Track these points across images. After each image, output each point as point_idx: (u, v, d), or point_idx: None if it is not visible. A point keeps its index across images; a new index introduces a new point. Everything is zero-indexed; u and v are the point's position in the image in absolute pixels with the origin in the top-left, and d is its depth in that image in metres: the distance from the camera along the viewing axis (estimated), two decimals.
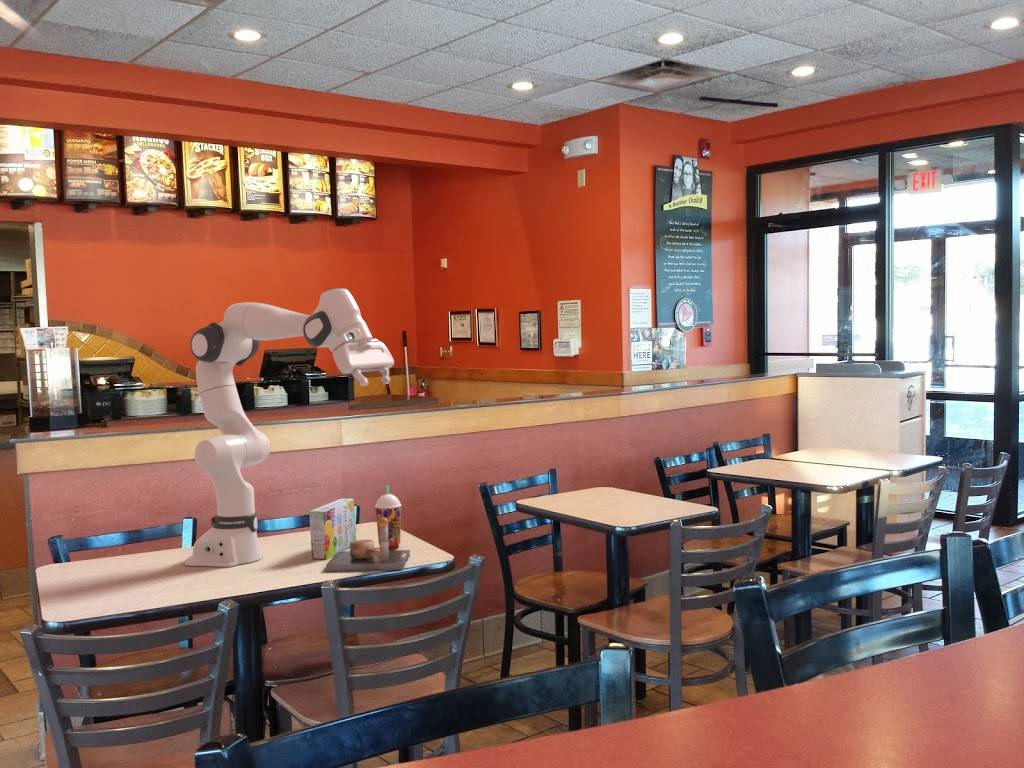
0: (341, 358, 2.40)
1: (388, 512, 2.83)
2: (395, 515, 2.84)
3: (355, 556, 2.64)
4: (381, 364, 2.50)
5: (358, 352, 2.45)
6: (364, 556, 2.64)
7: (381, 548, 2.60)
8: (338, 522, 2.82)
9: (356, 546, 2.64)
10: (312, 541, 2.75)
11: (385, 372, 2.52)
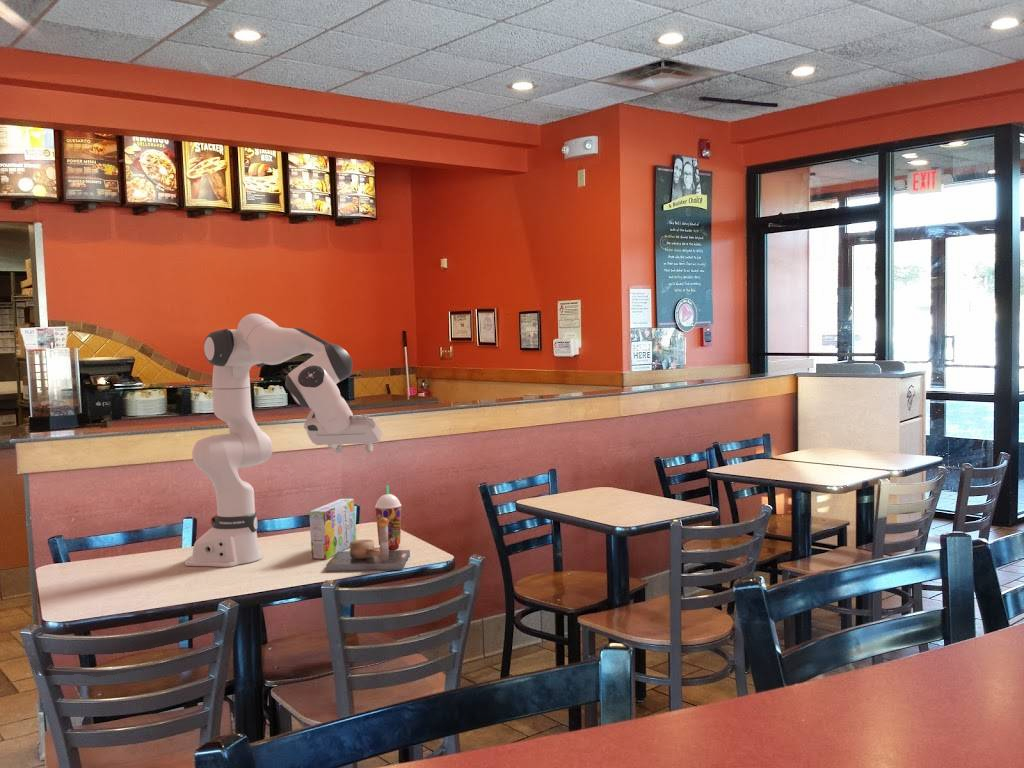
0: None
1: (388, 512, 2.83)
2: (395, 515, 2.84)
3: (355, 556, 2.64)
4: (357, 443, 2.43)
5: (329, 433, 2.42)
6: (364, 556, 2.64)
7: (381, 548, 2.60)
8: (339, 522, 2.82)
9: (356, 546, 2.64)
10: (312, 541, 2.75)
11: None
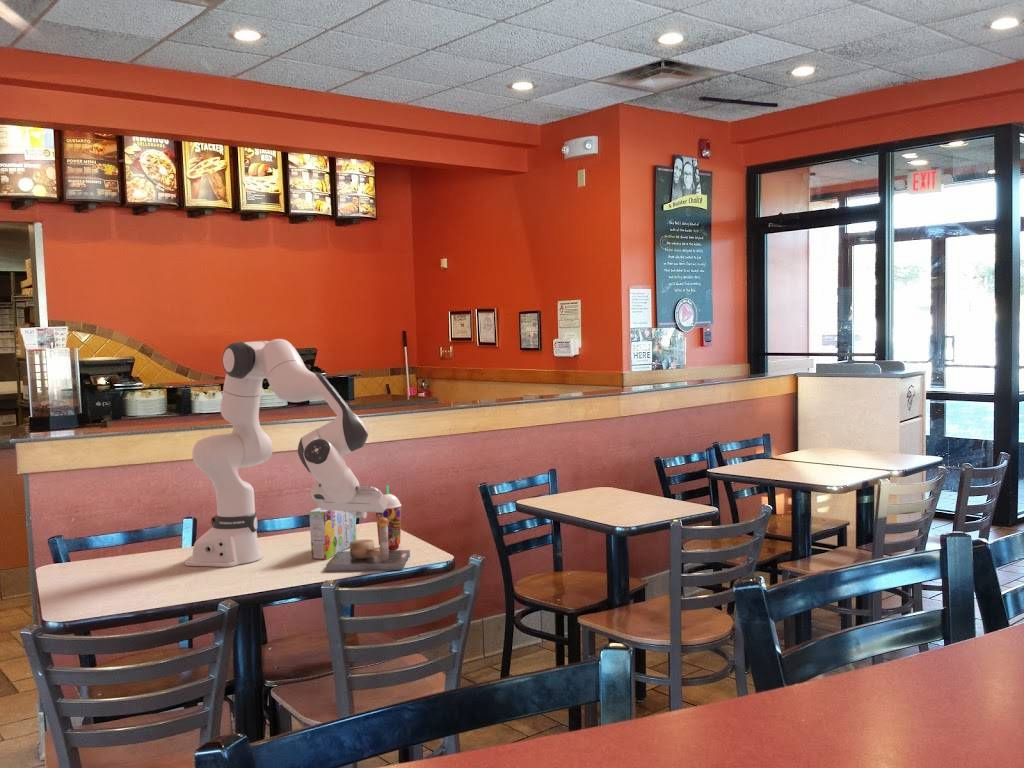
0: None
1: (388, 512, 2.83)
2: (395, 515, 2.84)
3: (355, 556, 2.64)
4: (364, 511, 2.43)
5: None
6: (364, 556, 2.64)
7: (381, 548, 2.60)
8: (339, 522, 2.82)
9: (356, 546, 2.64)
10: (312, 541, 2.75)
11: None
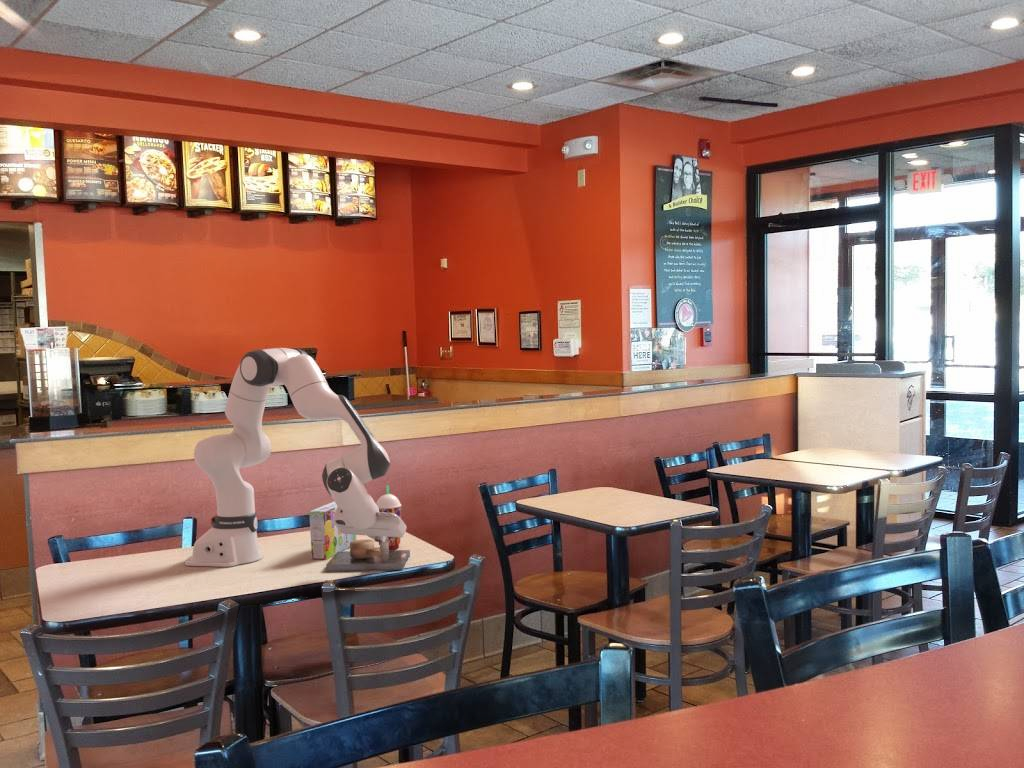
0: None
1: (388, 512, 2.83)
2: None
3: (355, 556, 2.64)
4: (383, 536, 2.53)
5: None
6: (364, 556, 2.64)
7: (381, 548, 2.60)
8: None
9: (356, 546, 2.64)
10: (312, 541, 2.75)
11: (381, 535, 2.56)
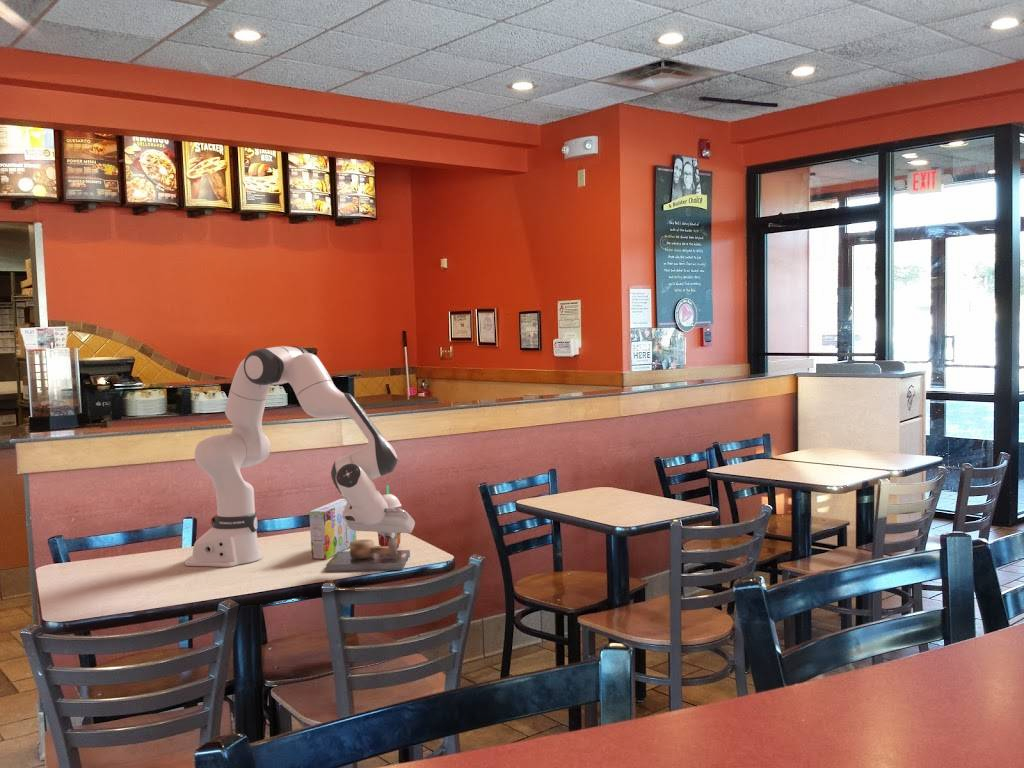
0: None
1: None
2: None
3: (360, 556, 2.64)
4: (392, 532, 2.57)
5: None
6: (369, 555, 2.65)
7: (391, 545, 2.64)
8: (339, 522, 2.82)
9: (361, 546, 2.64)
10: (312, 541, 2.75)
11: (390, 532, 2.60)
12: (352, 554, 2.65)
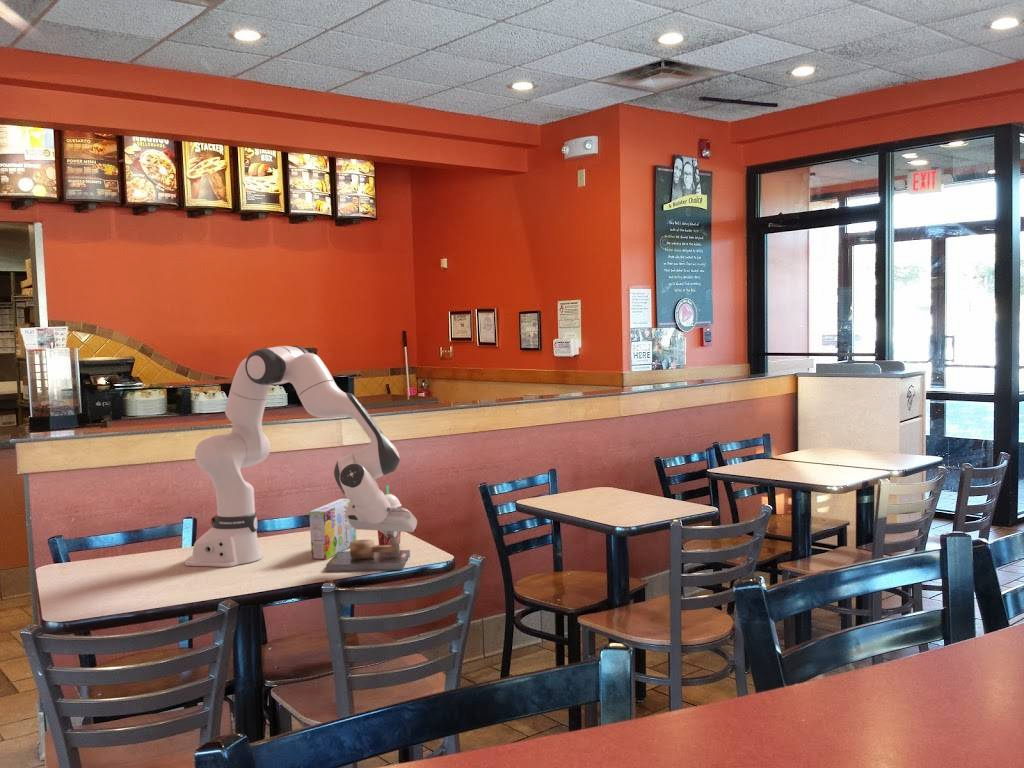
0: None
1: None
2: None
3: (362, 556, 2.64)
4: (394, 531, 2.59)
5: None
6: (371, 555, 2.66)
7: (394, 543, 2.65)
8: (339, 522, 2.82)
9: (363, 546, 2.64)
10: (312, 541, 2.75)
11: (392, 530, 2.62)
12: (354, 554, 2.65)
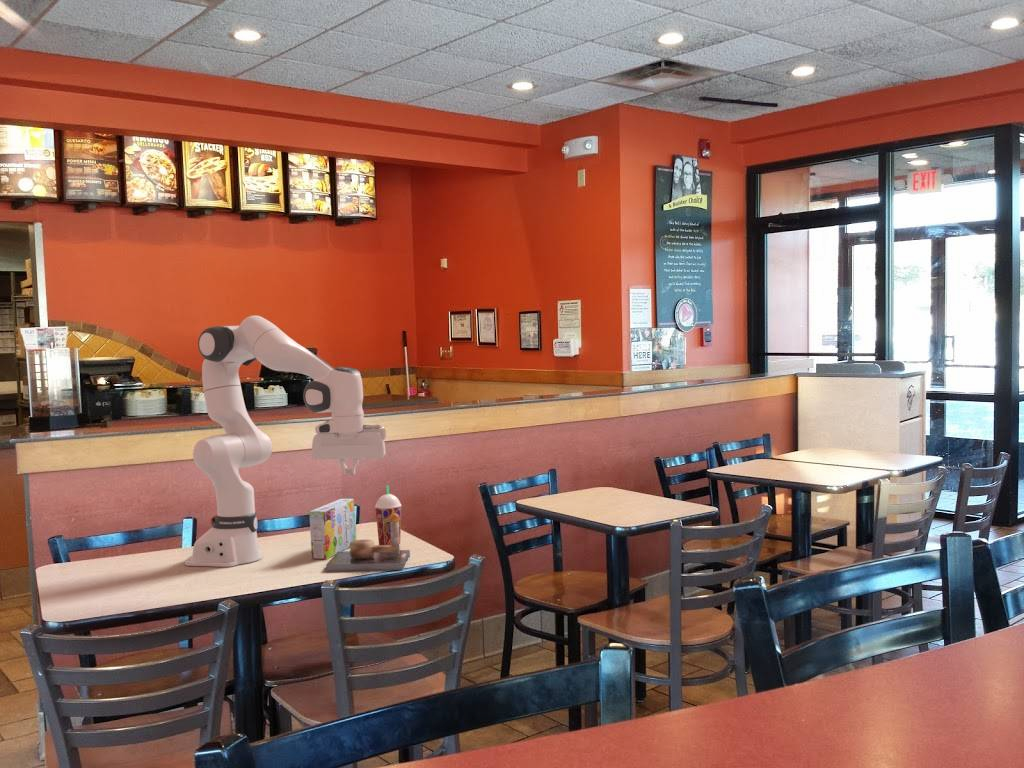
0: None
1: (388, 512, 2.83)
2: None
3: (362, 556, 2.64)
4: (360, 457, 2.50)
5: (335, 442, 2.50)
6: (371, 555, 2.66)
7: (394, 543, 2.65)
8: (339, 522, 2.82)
9: (363, 546, 2.64)
10: (312, 541, 2.75)
11: (354, 463, 2.52)
12: (354, 554, 2.65)
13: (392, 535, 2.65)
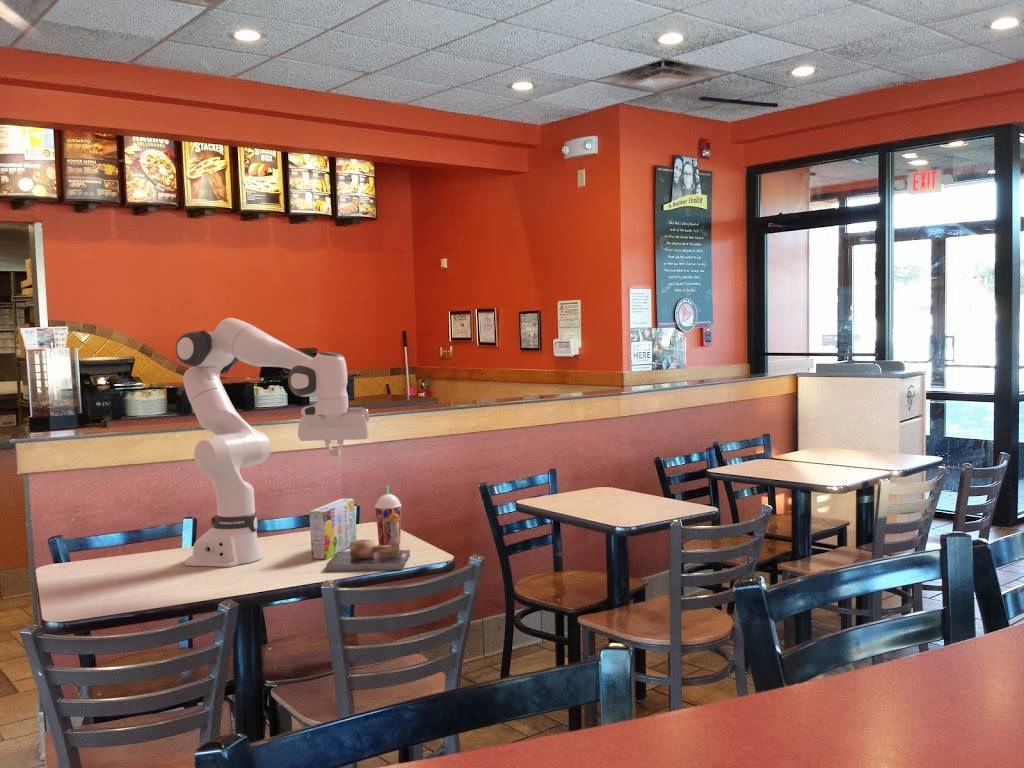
0: None
1: (388, 512, 2.83)
2: None
3: (362, 556, 2.64)
4: (345, 438, 2.59)
5: (320, 424, 2.59)
6: (371, 555, 2.66)
7: (394, 543, 2.65)
8: (339, 522, 2.82)
9: (363, 546, 2.64)
10: (312, 541, 2.75)
11: (339, 445, 2.61)
12: (354, 554, 2.65)
13: (392, 535, 2.65)
